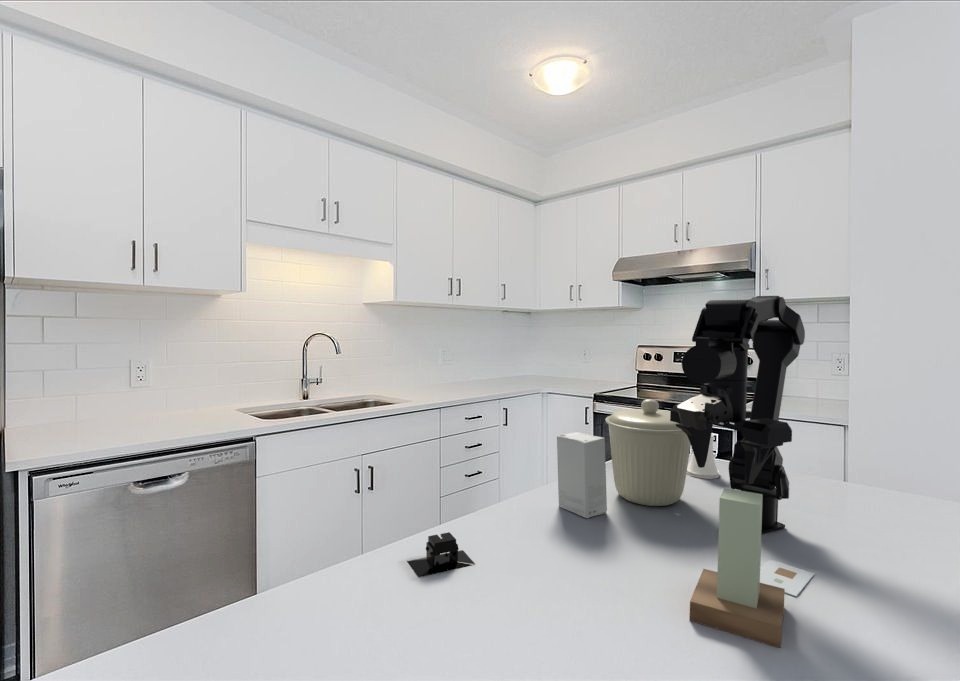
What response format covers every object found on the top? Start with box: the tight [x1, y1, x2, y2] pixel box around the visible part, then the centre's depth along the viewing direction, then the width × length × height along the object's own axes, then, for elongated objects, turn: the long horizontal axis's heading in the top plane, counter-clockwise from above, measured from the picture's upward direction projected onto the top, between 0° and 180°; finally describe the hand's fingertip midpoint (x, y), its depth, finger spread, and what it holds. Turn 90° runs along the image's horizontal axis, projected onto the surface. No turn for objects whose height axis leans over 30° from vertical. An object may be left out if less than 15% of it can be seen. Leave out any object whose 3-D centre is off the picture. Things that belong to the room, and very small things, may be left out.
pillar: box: [717, 487, 763, 609], centre depth 66 cm, size 4×4×13 cm
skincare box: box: [556, 431, 608, 519], centre depth 102 cm, size 8×6×15 cm
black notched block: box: [406, 531, 476, 578], centre depth 80 cm, size 12×7×5 cm, turn 115°
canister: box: [605, 398, 691, 507], centre depth 109 cm, size 18×18×21 cm
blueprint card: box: [760, 559, 815, 598], centre depth 76 cm, size 9×6×1 cm, turn 134°
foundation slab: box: [689, 568, 786, 649], centre depth 67 cm, size 10×10×2 cm
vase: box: [686, 432, 720, 480], centre depth 126 cm, size 8×8×10 cm
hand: (724, 475), depth 83 cm, fingers open, 9 cm apart
